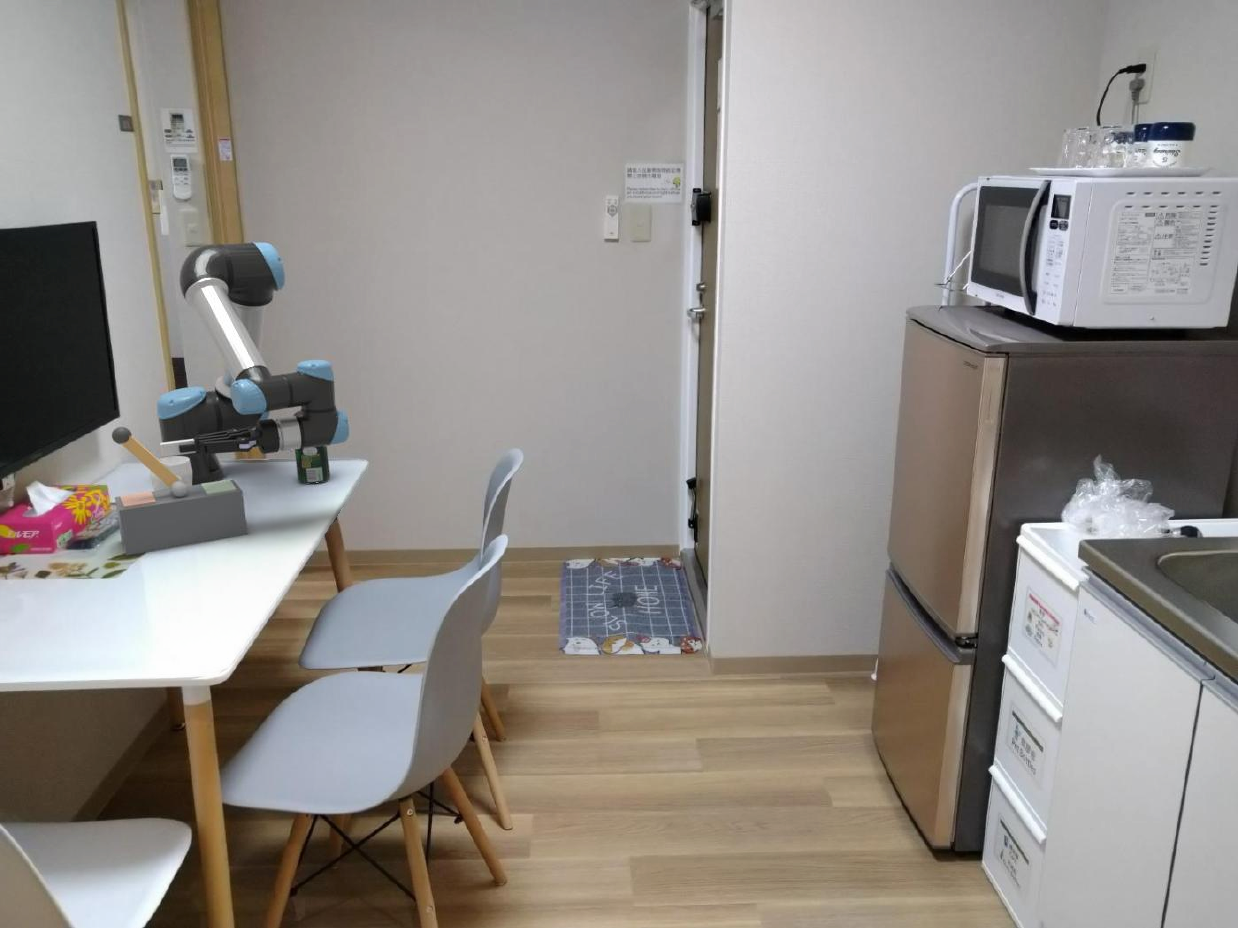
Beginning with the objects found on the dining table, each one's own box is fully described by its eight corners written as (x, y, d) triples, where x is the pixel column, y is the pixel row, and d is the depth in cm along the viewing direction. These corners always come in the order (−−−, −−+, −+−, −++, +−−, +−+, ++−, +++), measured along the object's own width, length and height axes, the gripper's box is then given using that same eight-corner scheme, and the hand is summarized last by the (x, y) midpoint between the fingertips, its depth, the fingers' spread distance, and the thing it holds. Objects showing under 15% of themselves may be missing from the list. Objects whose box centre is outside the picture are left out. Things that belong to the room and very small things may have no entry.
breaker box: (121, 540, 205) (114, 495, 202) (238, 520, 217) (233, 477, 214) (126, 555, 197) (118, 508, 194) (247, 534, 209) (242, 489, 206)
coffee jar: (300, 474, 251) (293, 406, 246) (331, 473, 252) (325, 405, 247) (295, 485, 242) (288, 415, 237) (327, 484, 243) (321, 413, 238)
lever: (174, 492, 206) (106, 432, 196) (187, 481, 207) (120, 420, 197) (178, 500, 201) (109, 438, 191) (192, 488, 202) (123, 426, 192)
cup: (162, 518, 218) (154, 469, 215) (150, 509, 225) (143, 460, 221) (202, 510, 224) (196, 461, 221) (189, 501, 230) (183, 453, 227)
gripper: (285, 458, 207) (167, 474, 195) (272, 444, 218) (160, 459, 206) (281, 424, 205) (162, 439, 193) (269, 412, 216) (155, 426, 204)
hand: (161, 449), depth 200 cm, fingers closed
